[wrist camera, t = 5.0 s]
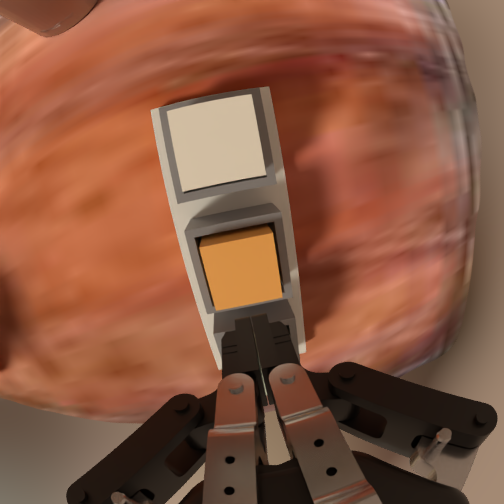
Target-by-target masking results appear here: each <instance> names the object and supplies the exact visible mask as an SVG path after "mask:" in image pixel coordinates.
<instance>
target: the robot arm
mask: <svg viewBox="0 0 504 504" xmlns="http://www.w3.org/2000/svg"><path fill="white" fill-rule="evenodd" d="M97 1H98V0H0V16H3V17H5V18H7V19H9V20H11V21H13V22H15V23H17V24H19V25H21V26H23V27H25V28H27V29H29V30H31V31H33V32H35V33H37V34H39V35H40V36H43V37H52V36H55V35H58V34H60V33H62V32H65V31H66V30H68V29H69V28H71V27H72V26H74V25H75V24H76V23H78V22H79V21H80V20H81V19H82V18H83V17H84V16H86V15H87V13H88V12H89V11H90V10H91V9H92V8H93V6H94V5H95V4H96V2H97ZM251 318H252V324H253V328H252V324H251V319H250V317H245V318H240V319H235V330H233V331H228V332H225V334H224V336H223V337H222V339H221V348H222V349H221V350H222V380H221V381H220V383H219V384H218V388H217V390H216V391H214V392H213V393H211V394H209V395H207V396H204V397H202V398H199V399H198V398H196V397H195V396H194V395H191V394H179V395H176V396H174V397H172V398H171V399H170V400H169V401H168V402H167V403H165V404H164V405H163V406H162V407H161V408H160V409H159V410H158V411H157V412H156V413H155V414H154V415H152V416H151V417H150V418H149V419H148V420H147V421H146V422H145V423H144V424H143V425H142V426H141V427H139V428H138V429H137V430H136V431H135V432H134V433H133V434H131V435H130V436H129V437H128V438H127V439H126V440H125V441H123V442H122V443H121V444H120V445H119V446H118V447H117V448H115V449H114V450H113V451H112V452H111V453H110V454H108V455H107V456H106V457H105V458H104V459H103V460H101V461H100V462H99V463H98V464H97V465H95V466H94V467H93V468H92V469H91V470H89V471H88V472H87V473H86V474H84V475H83V476H82V477H81V478H79V479H78V480H77V481H75V482H74V483H73V484H72V485H71V486H70V487H69V488H68V490H67V494H66V497H67V502H68V504H165V503H166V502H167V501H168V500H169V499H170V498H171V497H172V496H173V495H174V494H175V493H176V492H177V491H178V490H179V489H180V488H181V487H182V486H183V485H184V484H185V483H186V482H187V481H188V480H189V479H190V477H192V476H193V474H194V473H195V472H196V471H197V470H198V469H199V468H200V467H201V466H202V465H203V463H205V474H204V480H203V481H201V482H200V483H198V484H197V485H196V486H195V487H193V488H192V489H191V490H190V492H189V493H188V494H187V495H186V496H185V497H184V498H183V499H182V501H181V502H180V503H179V504H469V501H468V499H467V497H466V496H465V495H464V493H462V492H461V490H462V488H463V486H464V484H465V481H466V479H467V477H468V474H469V472H470V470H471V467H472V464H473V462H474V459H475V456H476V453H477V451H478V448H479V446H480V445H481V444H482V443H483V441H484V440H485V439H486V438H487V437H488V436H489V434H490V433H491V432H492V431H493V430H494V428H495V427H496V424H497V413H496V411H495V410H494V408H493V407H492V406H491V405H489V404H486V403H482V402H478V401H474V400H470V399H466V398H463V397H459V396H455V395H452V394H448V393H445V392H441V391H438V390H434V389H431V388H428V387H425V386H421V385H418V384H415V383H412V382H408V381H405V380H403V379H400V378H397V377H394V376H391V375H388V374H385V373H382V372H379V371H376V370H373V369H371V368H368V367H365V366H362V365H360V364H357V363H354V362H343V363H339V364H337V365H335V366H334V367H333V368H332V369H331V370H330V372H329V373H315V372H310V371H308V370H306V369H304V368H303V367H302V366H301V364H300V362H299V360H298V357H297V354H296V351H295V349H294V346H293V343H292V341H291V338H290V335H289V332H288V329H287V327H286V326H285V325H284V324H283V323H282V322H280V321H277V322H272V323H269V321H268V317H267V314H266V313H264V314H259V315H254V316H251ZM253 329H254V333H253ZM254 334H255V337H254ZM255 340H256V341H255ZM256 345H257V346H256ZM257 350H258V351H257ZM258 355H259V356H258ZM261 371H262V372H261ZM262 375H263V377H262ZM263 379H264V382H263ZM264 383H265V387H264ZM265 388H266V392H267V396H268V400H269V404H270V405H271V404H274V406H275V410H276V414H277V419H278V422H279V425H280V428H281V431H282V434H283V437H284V440H285V443H286V446H287V449H288V452H289V455H290V459H291V460H289V461H287V462H285V463H282V464H280V465H269V462H268V455H267V442H266V430H265V420H264V417H265V415H264V409H263V406H267V405H268V402H267V397H266V392H265ZM340 429H341V430H343V431H345V432H347V433H350V434H352V435H354V436H356V437H358V438H361V439H363V440H365V441H368V442H370V443H372V444H375V445H377V446H380V447H382V448H385V449H387V450H390V451H392V452H395V453H398V454H400V455H403V456H406V457H409V458H410V460H409V462H410V466H411V468H412V469H413V471H415V472H416V473H418V474H420V475H421V476H423V477H421V476H419V475H416V474H413V473H411V472H408V471H406V470H403V469H401V468H398V467H396V466H394V465H391V464H389V463H387V462H384V461H382V460H380V459H378V458H375V457H373V456H371V455H369V454H366V453H363V452H358V451H351V450H350V448H349V446H348V444H347V442H346V441H345V438H344V436H343V434H342V433H341V431H340Z"/></svg>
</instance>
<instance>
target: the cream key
mask: <svg viewBox="0 0 504 504" xmlns="http://www.w3.org/2000/svg"><path fill="white" fill-rule="evenodd" d="M167 116H168V122H169V127H170V133H171V138H172V143H173V148H174V154H175V159H176V163H177V168H178V173H179V178H180V183H181V187H182V192H184V191H188V190H192V189H197V188H201V187H206V186H211V185H215V184H220V183H225V182H230V181H235V180H241V179H246V178H251V177H257V176H263V175H266V171H265V165H264V159H263V153H262V148H261V142H260V137H259V131H258V126H257V120H256V115H255V110H254V105H253V99H252V94H248V95H242V96H235V97H229V98H224V99H218V100H213V101H208V102H203V103H198V104H194V105H190V106H185V107H181V108H177V109H173V110H169V111H167Z"/></svg>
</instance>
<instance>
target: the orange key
mask: <svg viewBox="0 0 504 504" xmlns="http://www.w3.org/2000/svg"><path fill="white" fill-rule="evenodd" d="M199 249H200V253H201V257H202V260H203V264H204V268H205V272H206V276H207V280H208V283H209V287H210V291H211V294H212V298H213V302H214V305H215V309H216V311H217V310H223V309H228V308H233V307H239V306H244V305H249V304H254V303H259V302H264V301H268V300H273V299H278V298H282V297H283V296H282V290H281V283H280V276H279V269H278V262H277V256H276V249H275V243H274V237H273V232H272V231H271V229H270V228H269V226H268V224H267V223H264V224H258V225H253V226H248V227H243V228H238V229H233V230H228V231H223V232H218V233H213V234H209V235H204V236H202V239H201V243H200V247H199Z"/></svg>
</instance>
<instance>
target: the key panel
mask: <svg viewBox="0 0 504 504" xmlns="http://www.w3.org/2000/svg"><path fill="white" fill-rule="evenodd" d="M248 94H252V99H253V105H254V110H255V115H256V120H257V126H258V131H259V137H260V142H261V148H262V153H263V159H264V165H265V171H266V175H263V176H257V177H251V178H246V179H241V180H235V181H230V182H225V183H220V184H215V185H211V186H206V187H201V188H197V189H192V190H188V191H184V192H182V187H181V183H180V178H179V173H178V168H177V163H176V159H175V154H174V148H173V143H172V138H171V133H170V127H169V122H168V116H167V111H169V110H173V109H177V108H181V107H185V106H190V105H194V104H198V103H203V102H208V101H213V100H218V99H224V98H229V97H235V96H242V95H248ZM151 116H152V122H153V127H154V133H155V138H156V144H157V149H158V154H159V159H160V164H161V169H162V173H163V178H164V183H165V187H166V192H167V196H168V200H169V205H170V209H171V213H172V217H173V221H174V225H175V229H176V233H177V237H178V241H179V244H180V248H181V252H182V255H183V259H184V263H185V266H186V270H187V273H188V277H189V280H190V284H191V287H192V290H193V294H194V297H195V300H196V303H197V307H198V310H199V313H200V316H201V319H202V322H203V325H204V328H205V331H206V334H207V337H208V340H209V343H210V346H211V349H212V352H213V355H214V358H215V361H216V363H217V366H218V369H222V350H221V349H222V348H221V339H222V337H223V336H224V334H225V332H228V331H233V330H235V319H240V318H245V317H250V319H251V324H252V318H251V316H254V315H259V314H264V313H266V314H267V317H268V321H269V323H272V322H277V321H280V322H282V323H283V324H284V325H285V326H286V327H287V329H288V332H289V335H290V338H291V341H292V343H293V346H294V349H295V351H296V354H297V357H298V360H299V362H300V356H299V354H300V353H304V352H306V343H305V331H304V320H303V310H302V300H301V291H300V282H299V273H298V264H297V256H296V248H295V240H294V232H293V225H292V218H291V211H290V204H289V197H288V190H287V184H286V177H285V171H284V165H283V159H282V153H281V147H280V141H279V136H278V130H277V125H276V119H275V114H274V109H273V103H272V98H271V93H270V88H269V87H260V88H252V89H245V90H238V91H232V92H226V93H220V94H215V95H210V96H205V97H200V98H196V99H191V100H187V101H183V102H179V103H175V104H171V105H167V106H163V107H160V108H156V109H153V110H151ZM264 223H267V224H268V226H269V228H270V229H271V231H272V232H273V237H274V243H275V249H276V256H277V262H278V269H279V276H280V283H281V290H282V296H283V297H282V298H278V299H273V300H268V301H264V302H259V303H254V304H249V305H244V306H239V307H233V308H228V309H223V310H217V311H216V309H215V305H214V302H213V298H212V294H211V291H210V287H209V283H208V280H207V276H206V272H205V268H204V264H203V260H202V257H201V253H200V249H199V247H200V243H201V239H202V236H204V235H209V234H213V233H218V232H223V231H228V230H233V229H238V228H243V227H248V226H253V225H258V224H264ZM252 328H253V324H252ZM253 332H254V329H253Z"/></svg>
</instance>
